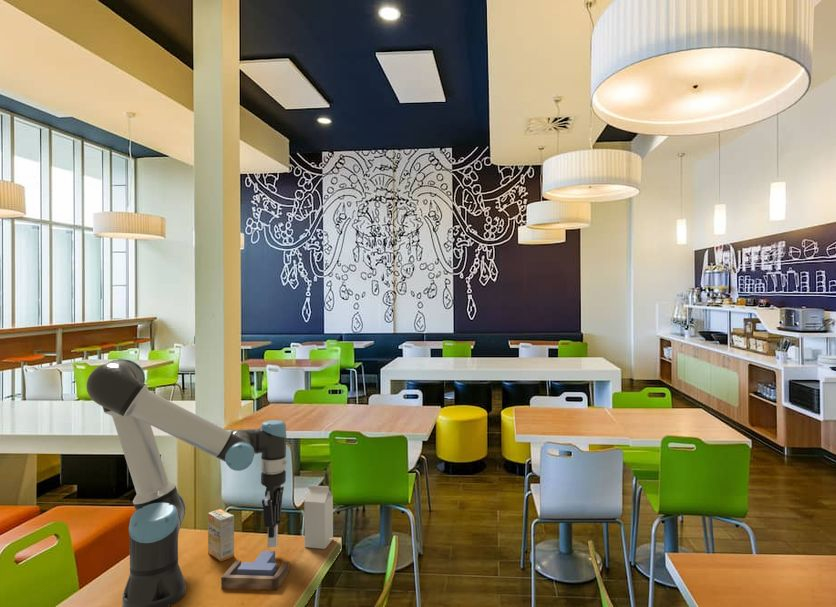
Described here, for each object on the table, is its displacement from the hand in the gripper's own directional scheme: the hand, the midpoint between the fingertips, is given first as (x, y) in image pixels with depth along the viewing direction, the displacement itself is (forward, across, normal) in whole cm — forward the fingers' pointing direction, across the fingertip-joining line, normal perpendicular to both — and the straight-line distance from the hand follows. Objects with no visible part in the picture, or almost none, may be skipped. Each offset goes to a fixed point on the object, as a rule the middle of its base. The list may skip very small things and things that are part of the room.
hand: (272, 545), depth 161 cm
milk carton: (+3, +9, -12) cm, 16 cm away
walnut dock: (+3, -14, -1) cm, 14 cm away
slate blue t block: (+3, -10, -1) cm, 11 cm away
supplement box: (+4, -1, +16) cm, 17 cm away
